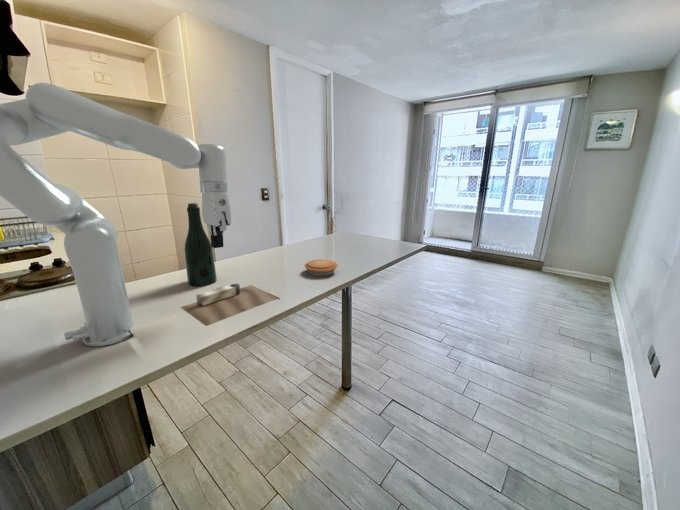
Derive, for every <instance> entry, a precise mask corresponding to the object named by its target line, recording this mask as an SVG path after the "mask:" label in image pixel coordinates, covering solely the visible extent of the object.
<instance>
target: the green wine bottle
mask: <svg viewBox="0 0 680 510" xmlns="http://www.w3.org/2000/svg"><path fill="white" fill-rule="evenodd" d="M200 208H201V207H200V206H199V205H198V203H196V202H191V203H187V206H186V212H187V217H188V218H187V219H188V220H187V221H188V230H187V235H186V238H185V242H184V246H183V247H184V248H183V249H184V250H183V252H184V261H185V270H186V271H185V272H186V279H187V284H188V286H189V287H193V288H199V287H200V288H201V287H206V286H211V285H214V284H215V283H216V282H217V280H218V279H217V278H218V277H217V271H216V263H215V258H214V257H215V256H214V250H213V247H211V239H210V238H209V237H208V235H207V232H206V231H205V228H204V226H203V223H202V218H201V216H202V215H201V209H200Z"/></svg>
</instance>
